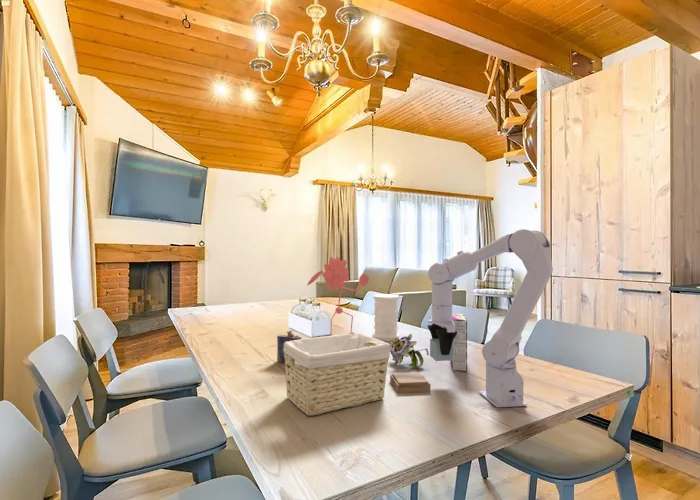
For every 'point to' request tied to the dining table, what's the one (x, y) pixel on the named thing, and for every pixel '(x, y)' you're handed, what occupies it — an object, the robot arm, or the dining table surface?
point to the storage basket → (335, 371)
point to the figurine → (338, 280)
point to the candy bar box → (459, 343)
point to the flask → (280, 345)
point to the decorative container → (385, 317)
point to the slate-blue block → (439, 351)
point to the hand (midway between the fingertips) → (441, 352)
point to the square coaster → (409, 382)
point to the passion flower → (405, 350)
